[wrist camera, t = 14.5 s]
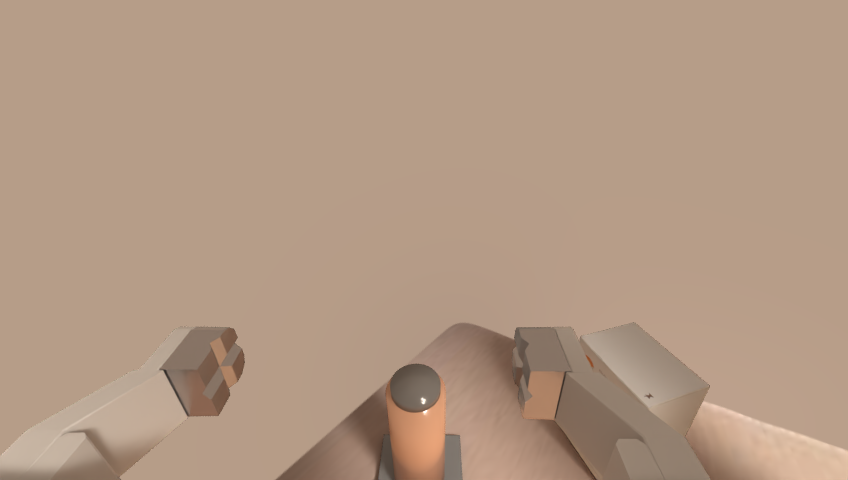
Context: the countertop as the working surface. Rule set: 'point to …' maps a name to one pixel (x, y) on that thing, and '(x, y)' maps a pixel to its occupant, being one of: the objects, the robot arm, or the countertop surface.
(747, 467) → the countertop surface
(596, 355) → the small box
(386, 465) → the mat
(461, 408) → the countertop surface
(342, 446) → the countertop surface
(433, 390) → the jar
